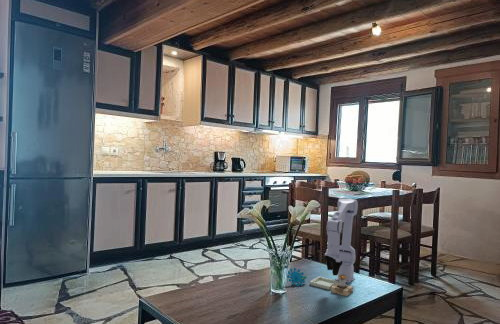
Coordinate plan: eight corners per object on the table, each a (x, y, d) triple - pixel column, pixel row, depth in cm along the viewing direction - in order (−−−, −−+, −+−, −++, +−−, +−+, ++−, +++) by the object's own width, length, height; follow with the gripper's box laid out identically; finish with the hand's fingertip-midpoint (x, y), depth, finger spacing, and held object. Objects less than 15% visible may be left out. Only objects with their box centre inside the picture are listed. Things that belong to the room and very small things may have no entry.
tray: (319, 279, 190) (319, 276, 190) (338, 284, 183) (338, 281, 183) (309, 284, 181) (309, 281, 181) (329, 290, 174) (329, 286, 174)
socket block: (337, 287, 179) (337, 282, 179) (352, 291, 174) (353, 286, 174) (330, 291, 172) (331, 286, 172) (346, 296, 167) (346, 291, 167)
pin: (339, 289, 176) (340, 273, 176) (347, 291, 173) (347, 275, 173) (336, 291, 173) (337, 275, 173) (344, 293, 170) (344, 277, 170)
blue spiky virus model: (289, 284, 176) (286, 266, 183) (285, 289, 180) (282, 271, 187) (309, 286, 179) (306, 268, 186) (304, 291, 183) (301, 273, 190)
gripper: (320, 241, 177) (319, 267, 178) (330, 248, 163) (329, 277, 163) (334, 241, 178) (333, 267, 178) (345, 248, 164) (344, 277, 164)
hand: (332, 272), depth 171 cm, fingers open, 7 cm apart
